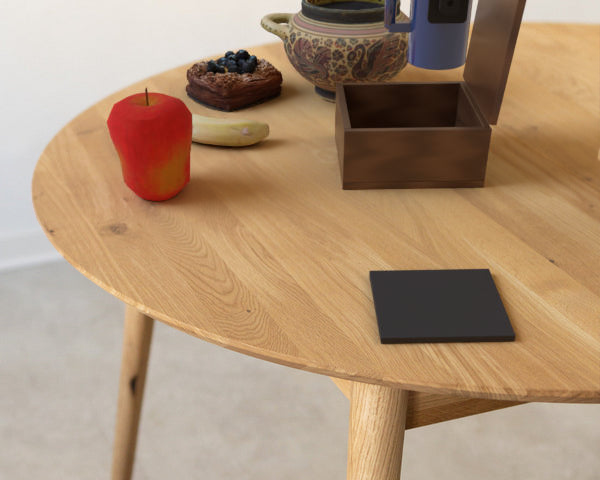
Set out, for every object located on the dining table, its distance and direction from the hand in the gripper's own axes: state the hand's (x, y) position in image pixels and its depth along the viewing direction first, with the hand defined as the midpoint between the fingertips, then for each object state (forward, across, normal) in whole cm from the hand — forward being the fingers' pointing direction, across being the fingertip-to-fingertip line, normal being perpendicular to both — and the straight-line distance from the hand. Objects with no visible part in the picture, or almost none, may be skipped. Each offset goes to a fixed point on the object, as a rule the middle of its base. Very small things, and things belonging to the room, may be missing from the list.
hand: (441, 9), depth 67 cm
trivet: (+21, -14, 0) cm, 25 cm away
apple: (+21, +8, +28) cm, 36 cm away
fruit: (+21, +23, +23) cm, 39 cm away
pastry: (+21, +37, +21) cm, 48 cm away
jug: (+4, 0, 0) cm, 4 cm away
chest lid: (+6, +16, -8) cm, 19 cm away
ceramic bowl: (+22, +38, +5) cm, 44 cm away
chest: (+21, +16, 0) cm, 27 cm away
